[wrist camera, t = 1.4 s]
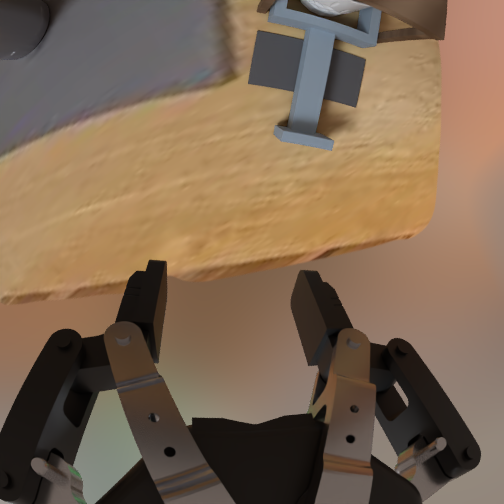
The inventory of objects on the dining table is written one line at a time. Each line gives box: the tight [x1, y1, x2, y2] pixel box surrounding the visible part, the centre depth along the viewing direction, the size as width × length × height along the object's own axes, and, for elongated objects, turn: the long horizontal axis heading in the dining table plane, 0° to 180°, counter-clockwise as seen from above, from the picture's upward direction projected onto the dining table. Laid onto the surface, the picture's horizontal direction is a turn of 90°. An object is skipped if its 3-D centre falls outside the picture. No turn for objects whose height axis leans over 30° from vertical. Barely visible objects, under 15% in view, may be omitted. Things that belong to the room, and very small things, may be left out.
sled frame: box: [268, 0, 382, 151], centre depth 25 cm, size 12×26×4 cm, turn 171°
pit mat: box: [248, 31, 365, 107], centre depth 29 cm, size 14×7×1 cm, turn 81°
